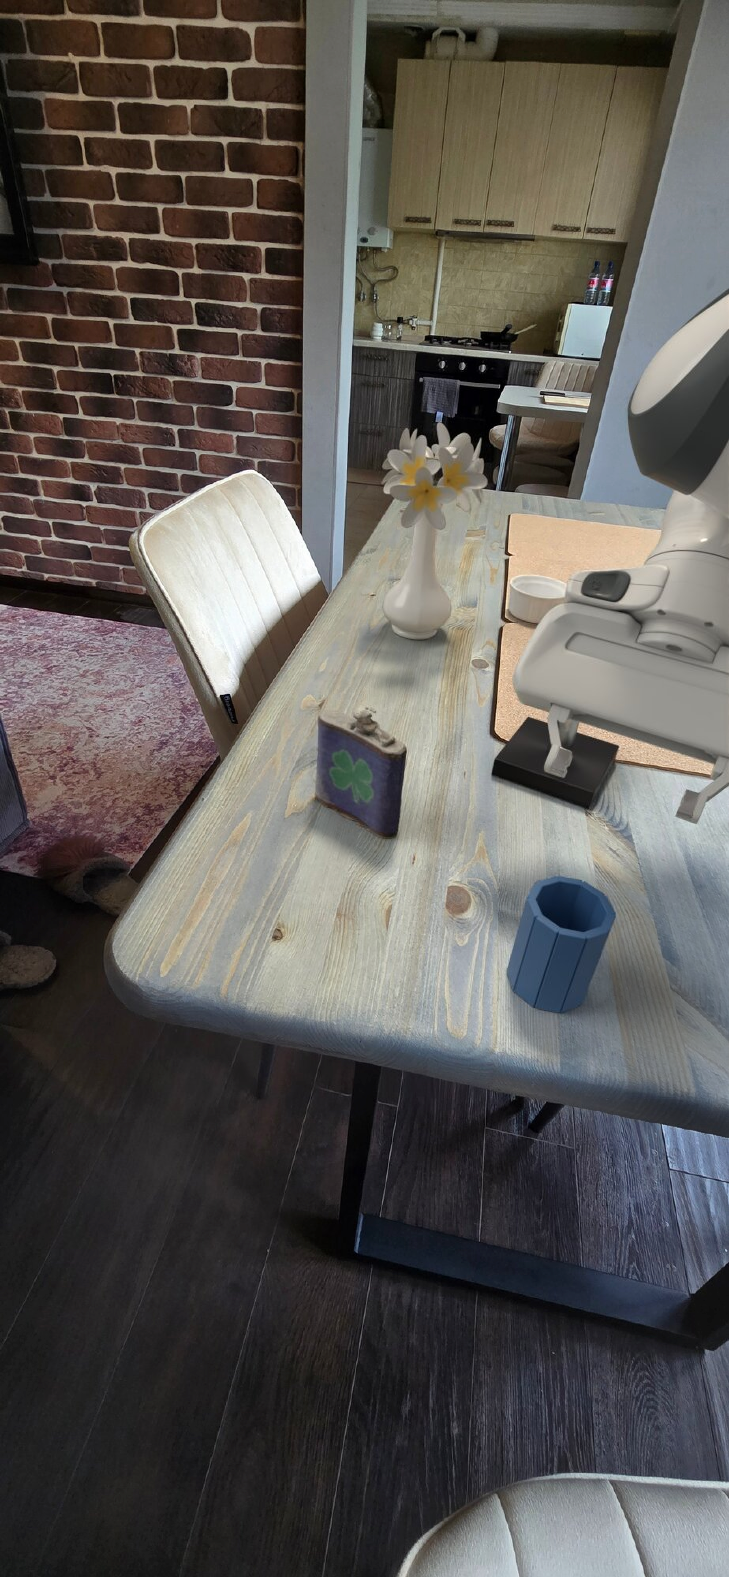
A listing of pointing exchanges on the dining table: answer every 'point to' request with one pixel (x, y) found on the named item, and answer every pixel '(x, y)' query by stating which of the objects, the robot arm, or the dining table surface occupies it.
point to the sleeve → (559, 943)
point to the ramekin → (534, 596)
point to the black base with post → (530, 753)
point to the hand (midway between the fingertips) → (617, 795)
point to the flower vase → (427, 523)
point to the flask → (360, 771)
